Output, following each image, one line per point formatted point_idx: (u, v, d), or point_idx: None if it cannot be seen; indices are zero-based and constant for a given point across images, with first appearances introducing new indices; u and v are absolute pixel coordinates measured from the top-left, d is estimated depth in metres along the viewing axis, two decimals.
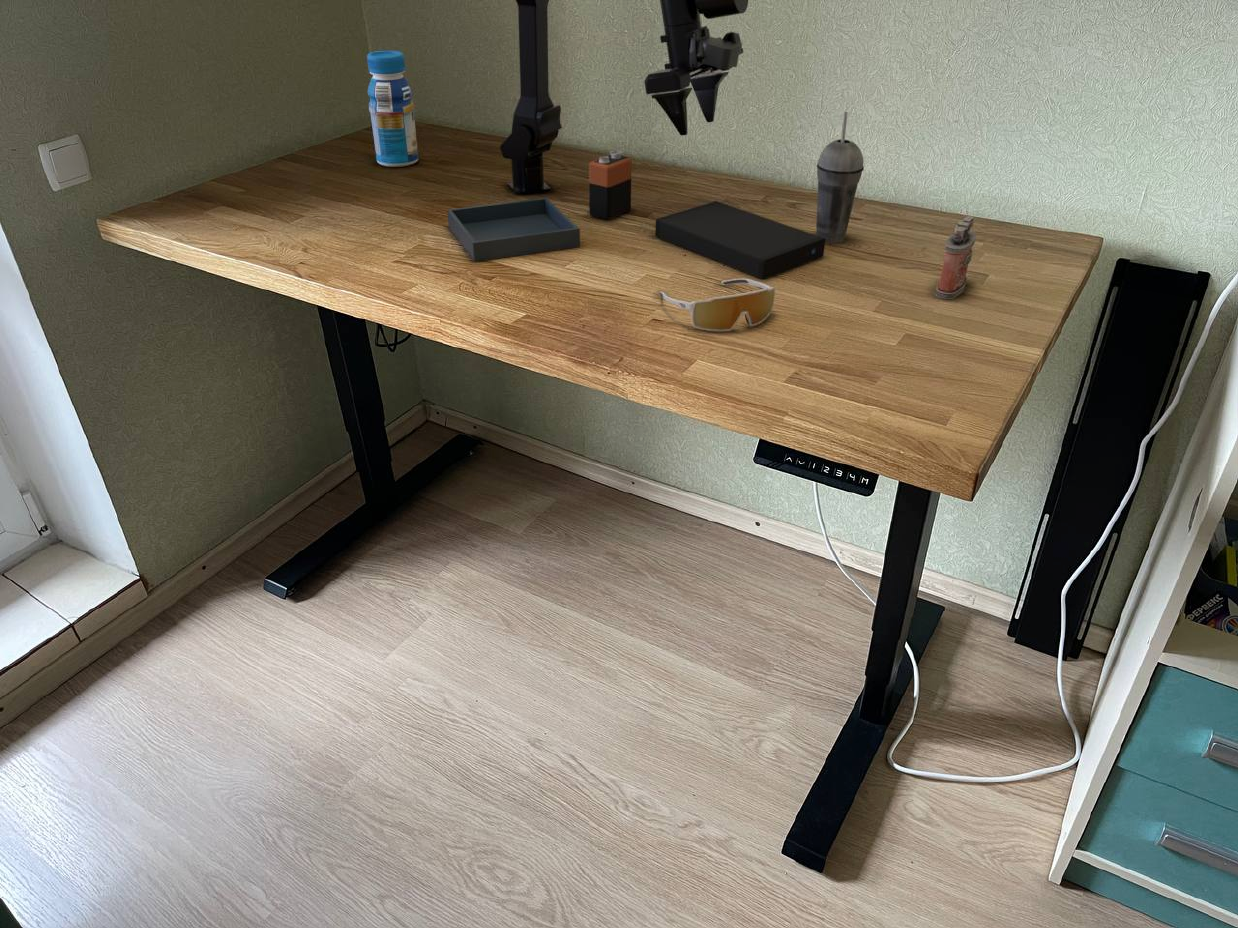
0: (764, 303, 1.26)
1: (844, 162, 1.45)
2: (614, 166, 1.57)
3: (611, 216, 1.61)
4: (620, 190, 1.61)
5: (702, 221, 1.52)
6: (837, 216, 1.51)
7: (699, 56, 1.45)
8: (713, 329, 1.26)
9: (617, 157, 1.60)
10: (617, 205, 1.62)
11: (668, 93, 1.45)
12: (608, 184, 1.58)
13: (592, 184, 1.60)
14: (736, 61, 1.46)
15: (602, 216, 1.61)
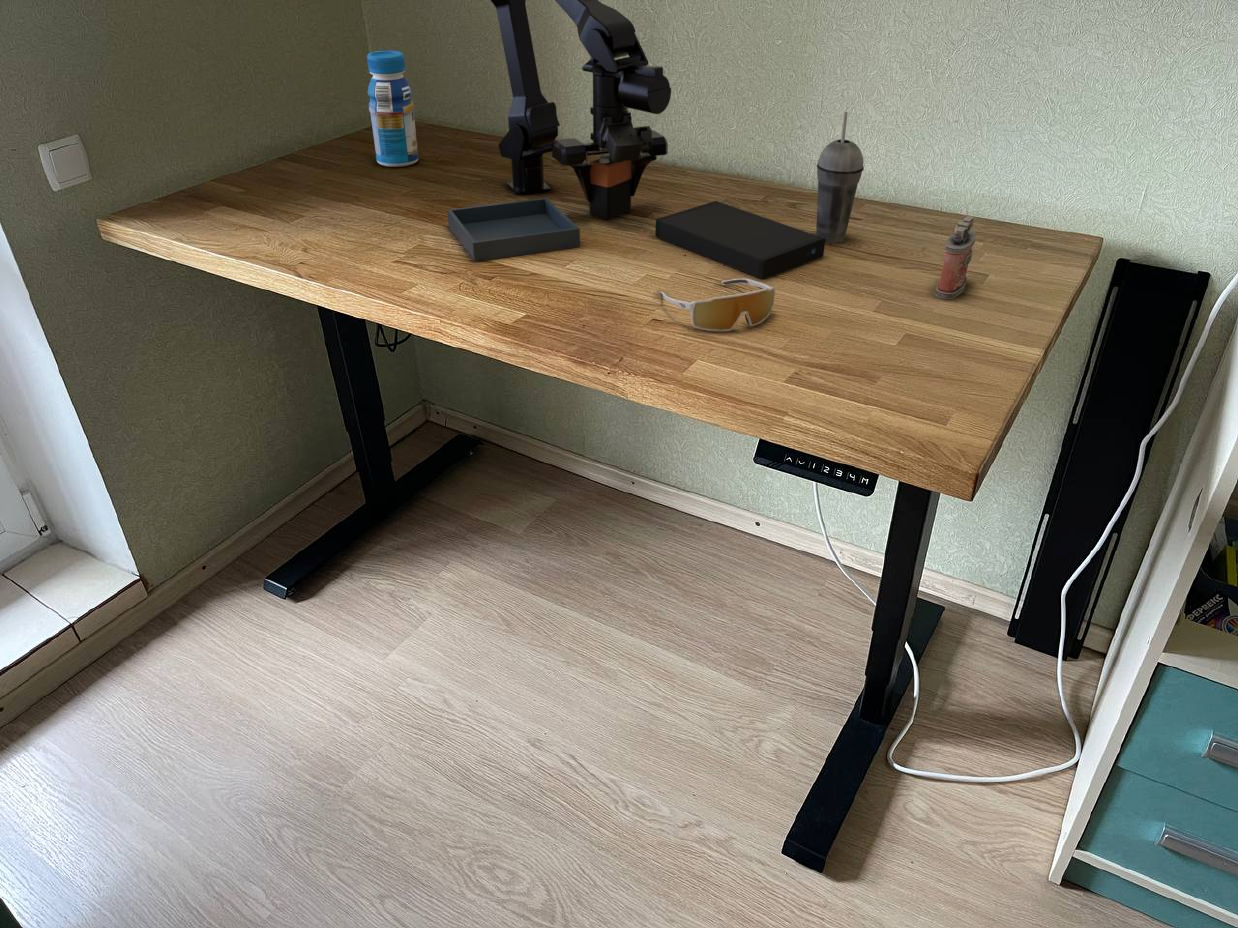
0: (764, 303, 1.26)
1: (844, 162, 1.45)
2: (614, 166, 1.57)
3: (611, 216, 1.61)
4: (620, 190, 1.61)
5: (702, 221, 1.52)
6: (837, 216, 1.51)
7: (602, 140, 1.53)
8: (713, 329, 1.26)
9: None
10: (617, 205, 1.62)
11: None
12: (608, 184, 1.58)
13: (592, 184, 1.60)
14: (635, 156, 1.52)
15: (602, 216, 1.61)
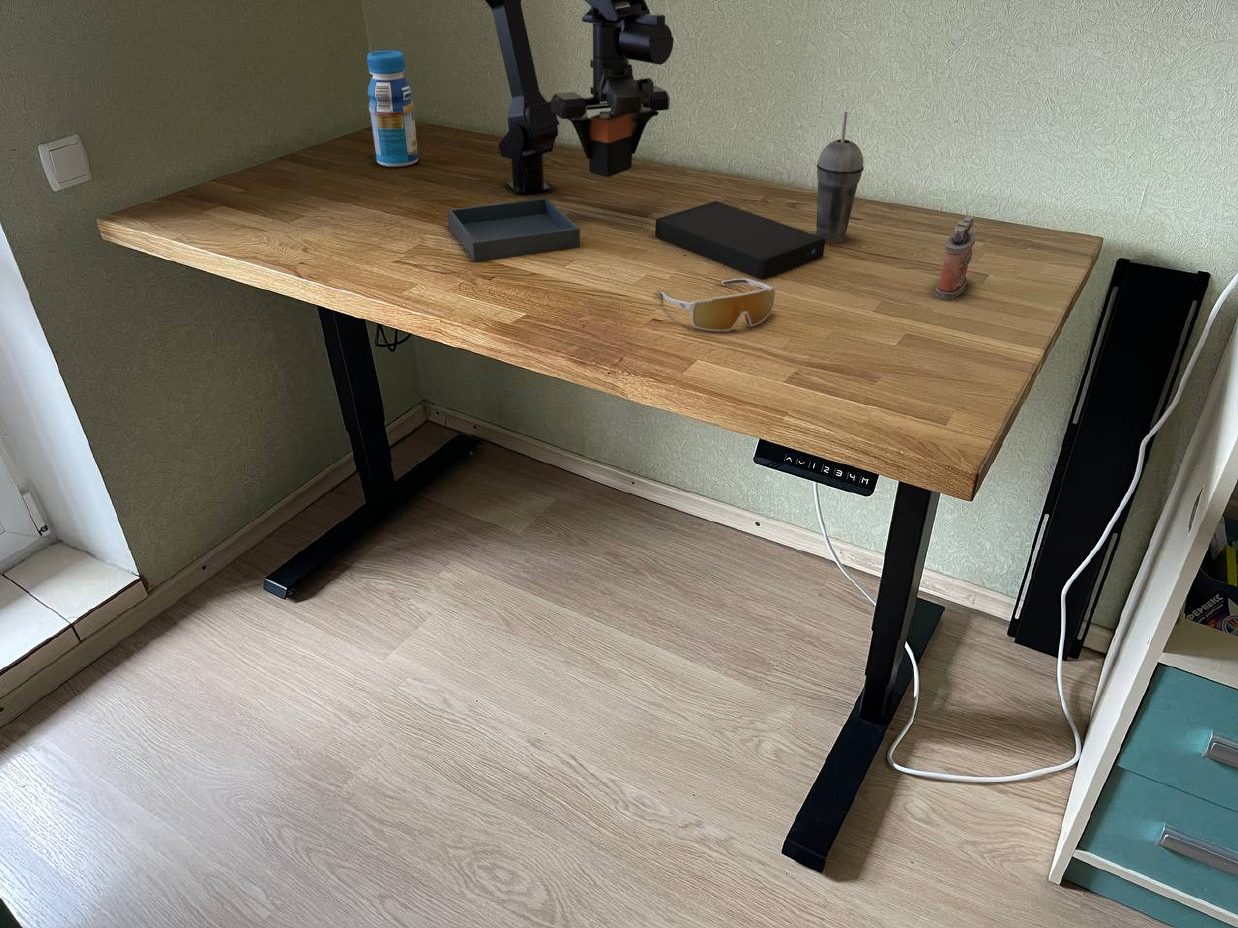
0: (764, 303, 1.26)
1: (844, 162, 1.45)
2: (615, 121, 1.53)
3: (611, 173, 1.57)
4: (621, 147, 1.57)
5: (702, 221, 1.52)
6: (837, 216, 1.51)
7: (603, 93, 1.49)
8: (713, 329, 1.26)
9: None
10: (618, 162, 1.58)
11: None
12: (609, 140, 1.54)
13: (592, 140, 1.56)
14: (636, 109, 1.48)
15: (602, 173, 1.57)
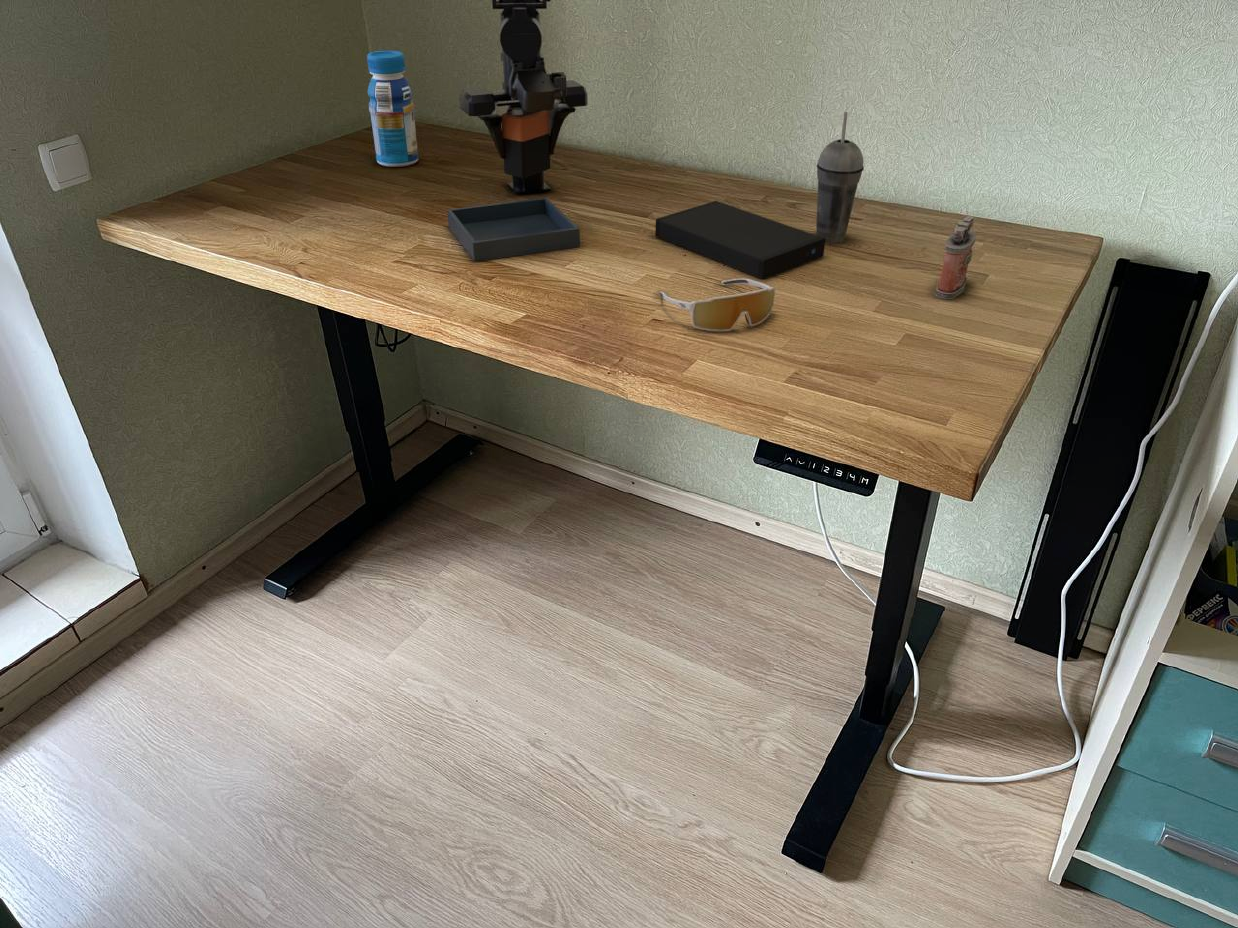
0: (764, 303, 1.26)
1: (844, 162, 1.45)
2: (528, 118, 1.43)
3: (527, 174, 1.47)
4: (536, 146, 1.47)
5: (702, 221, 1.52)
6: (837, 216, 1.51)
7: (513, 88, 1.39)
8: (713, 329, 1.26)
9: None
10: (534, 162, 1.48)
11: None
12: (522, 138, 1.44)
13: (505, 139, 1.46)
14: (548, 105, 1.38)
15: (517, 174, 1.47)
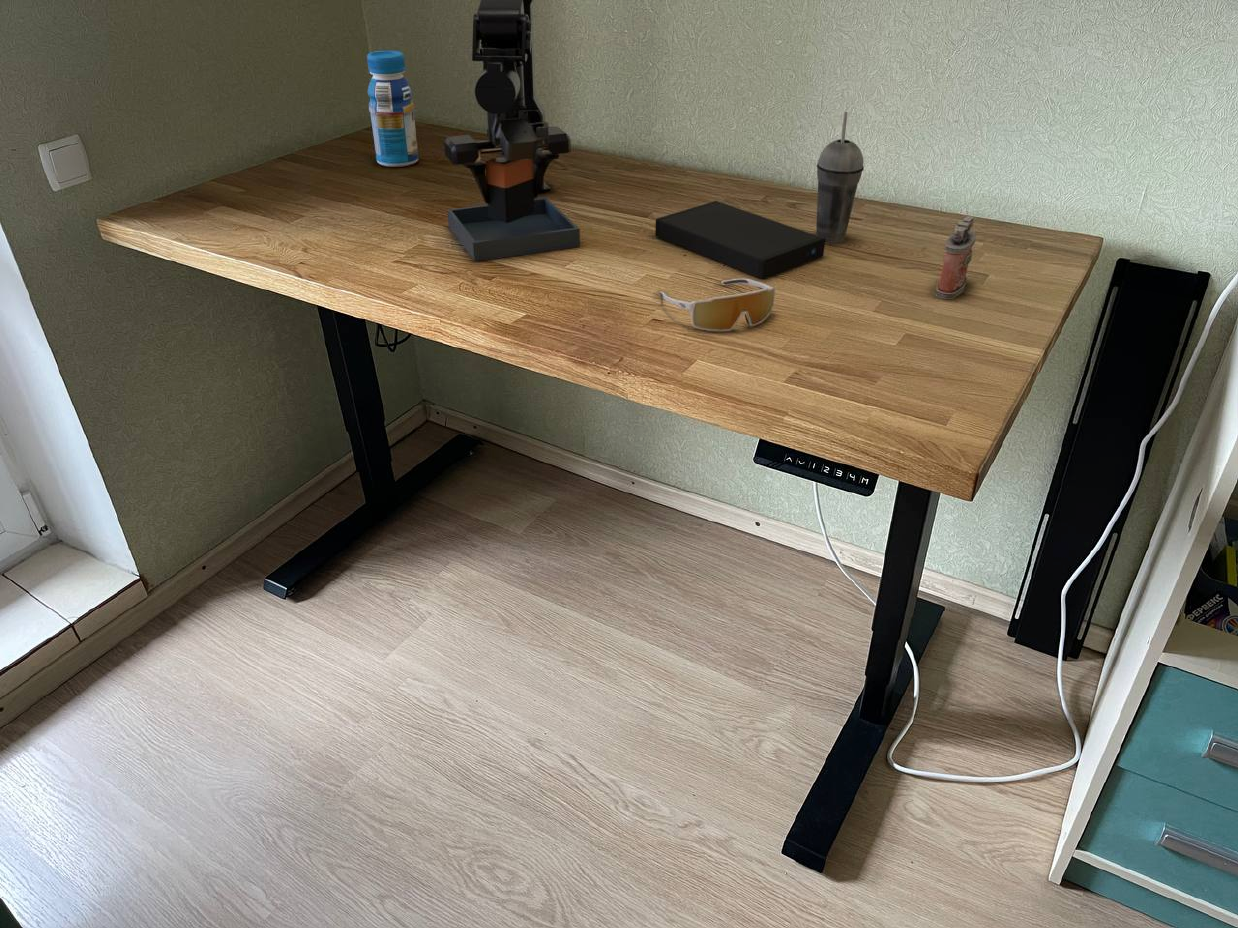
0: (764, 303, 1.26)
1: (844, 162, 1.45)
2: (512, 165, 1.45)
3: (511, 219, 1.50)
4: (520, 191, 1.49)
5: (702, 221, 1.52)
6: (837, 216, 1.51)
7: (496, 137, 1.41)
8: (713, 329, 1.26)
9: None
10: (518, 207, 1.50)
11: None
12: (506, 185, 1.46)
13: (489, 185, 1.48)
14: (530, 154, 1.41)
15: (501, 219, 1.50)
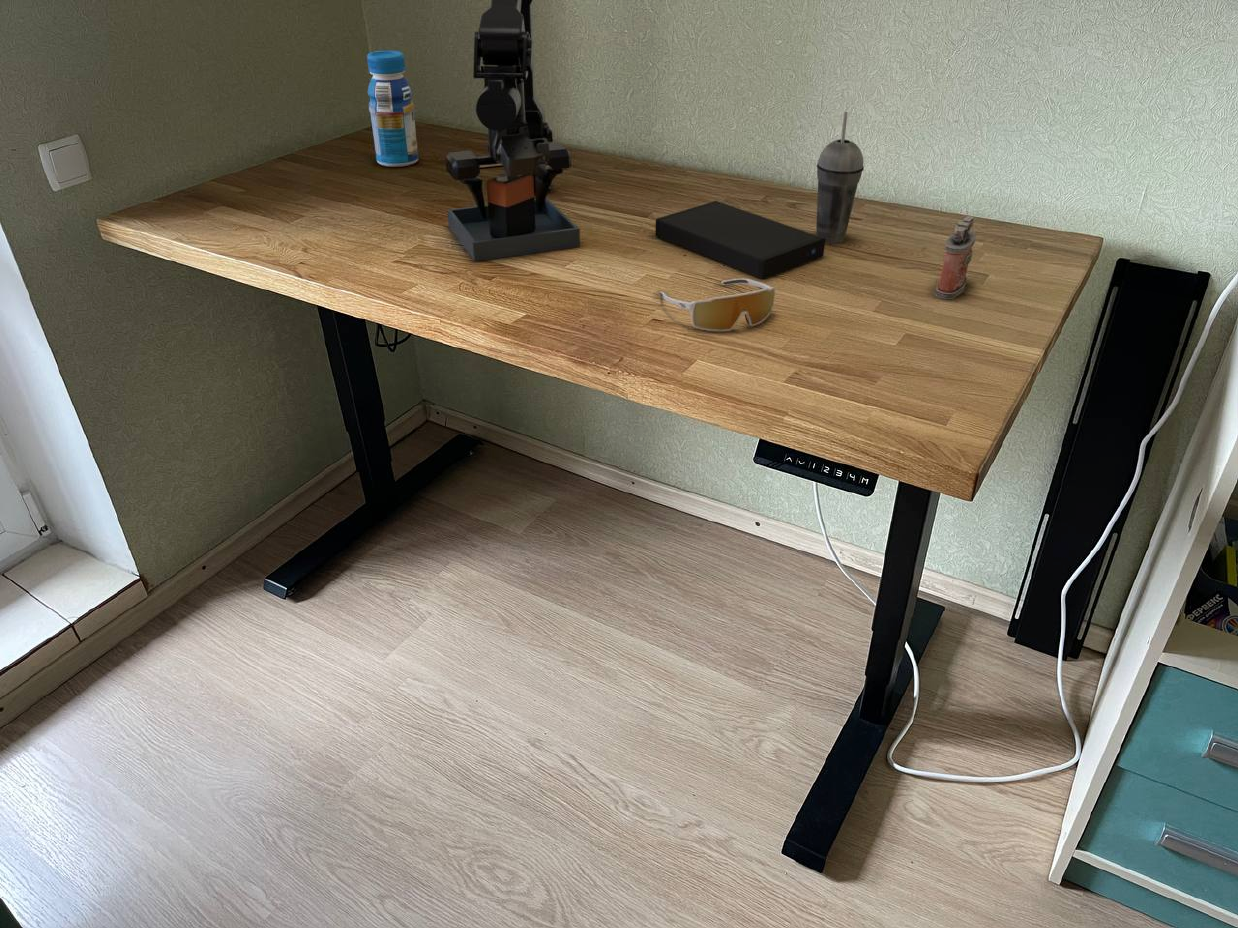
0: (764, 303, 1.26)
1: (844, 162, 1.45)
2: (513, 184, 1.47)
3: None
4: (521, 210, 1.51)
5: (702, 221, 1.52)
6: (837, 216, 1.51)
7: (497, 153, 1.43)
8: (713, 329, 1.26)
9: None
10: (519, 225, 1.51)
11: None
12: (507, 204, 1.48)
13: (491, 203, 1.49)
14: (531, 170, 1.42)
15: (502, 237, 1.51)
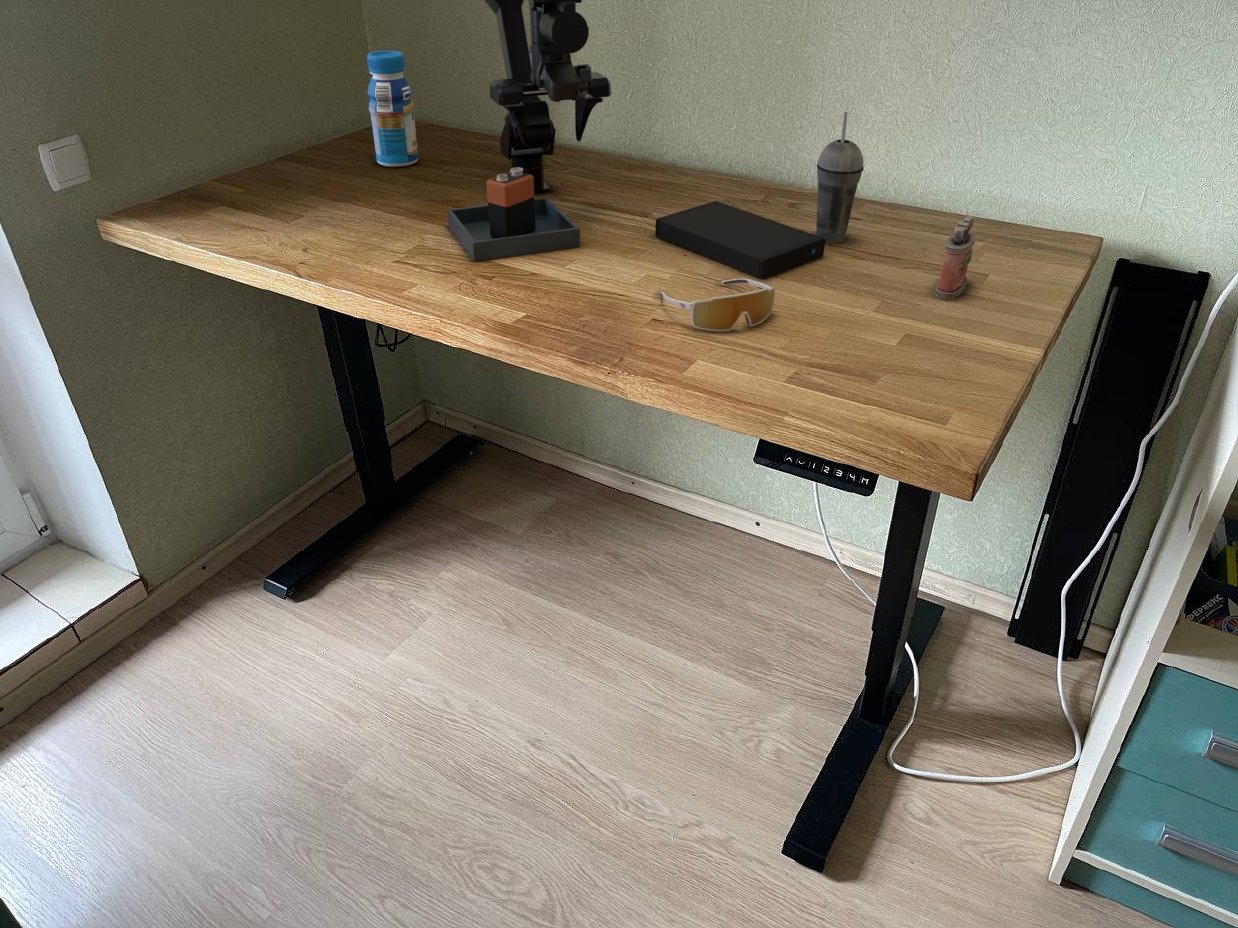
0: (764, 303, 1.26)
1: (844, 162, 1.45)
2: (513, 184, 1.47)
3: None
4: (521, 210, 1.51)
5: (702, 221, 1.52)
6: (837, 216, 1.51)
7: (540, 79, 1.47)
8: (713, 329, 1.26)
9: (517, 174, 1.50)
10: (519, 225, 1.51)
11: None
12: (507, 204, 1.48)
13: (490, 203, 1.49)
14: (573, 95, 1.46)
15: (502, 237, 1.51)
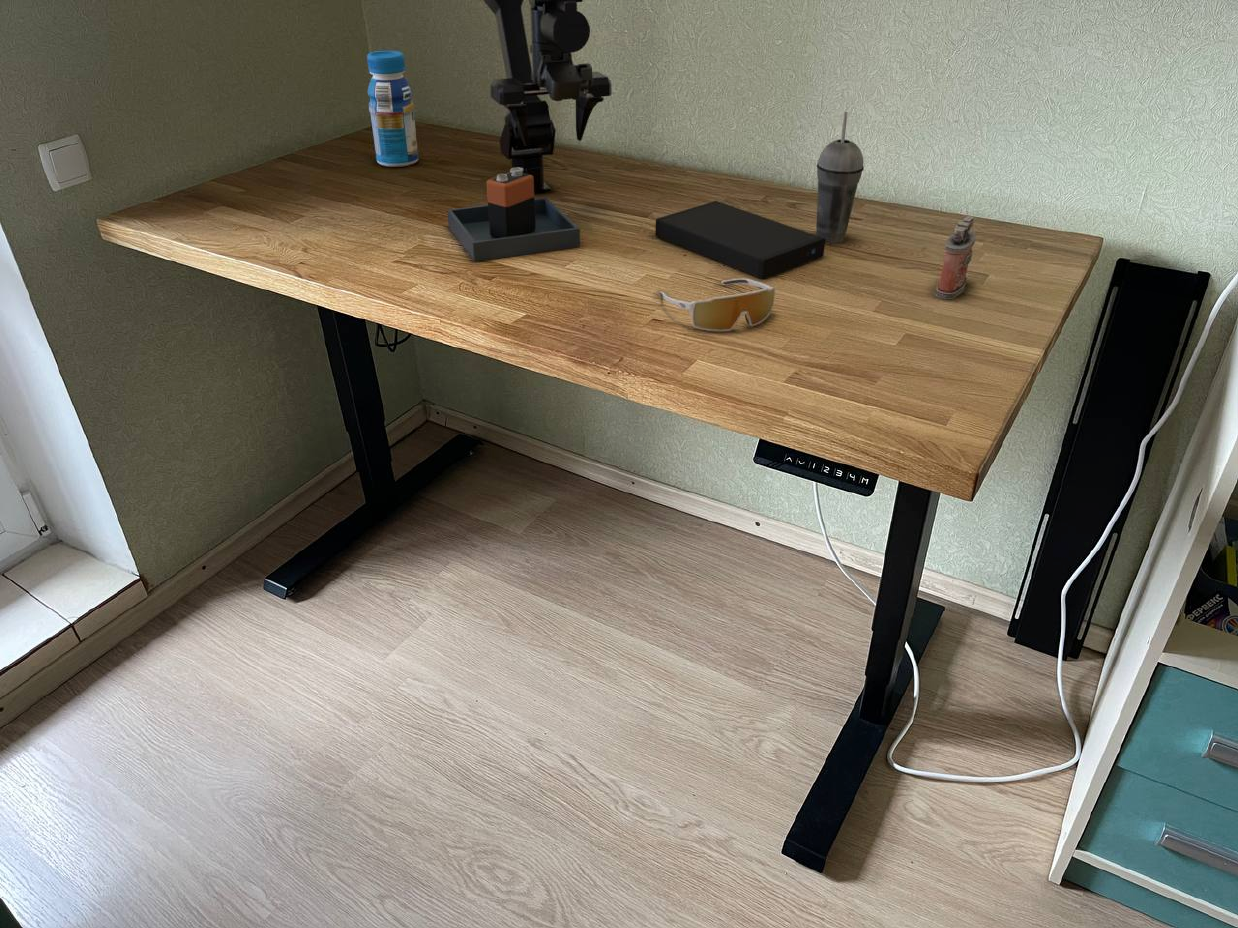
0: (764, 303, 1.26)
1: (844, 162, 1.45)
2: (513, 184, 1.47)
3: None
4: (521, 210, 1.51)
5: (702, 221, 1.52)
6: (837, 216, 1.51)
7: (541, 78, 1.47)
8: (713, 329, 1.26)
9: (517, 174, 1.50)
10: (519, 225, 1.51)
11: None
12: (507, 204, 1.48)
13: (490, 203, 1.49)
14: (574, 94, 1.47)
15: (502, 237, 1.51)
